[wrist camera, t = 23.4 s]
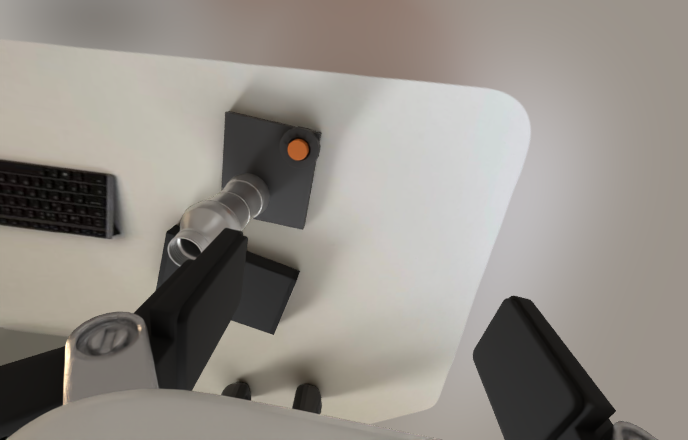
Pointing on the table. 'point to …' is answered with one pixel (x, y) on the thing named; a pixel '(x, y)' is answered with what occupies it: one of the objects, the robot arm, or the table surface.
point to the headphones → (304, 398)
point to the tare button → (298, 149)
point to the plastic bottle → (219, 216)
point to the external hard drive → (250, 287)
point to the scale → (272, 164)
